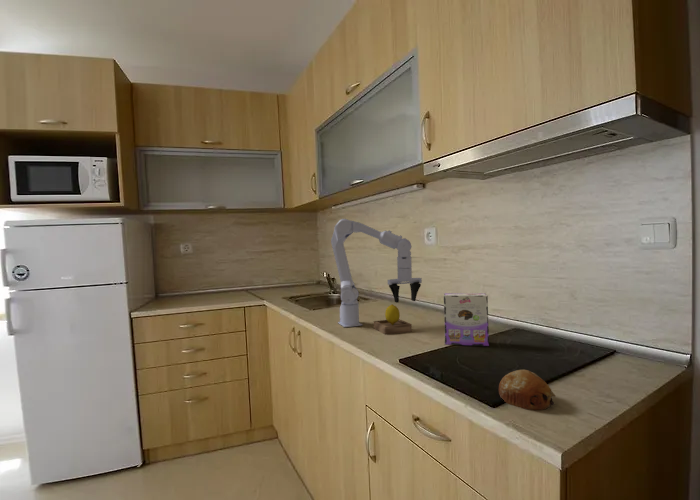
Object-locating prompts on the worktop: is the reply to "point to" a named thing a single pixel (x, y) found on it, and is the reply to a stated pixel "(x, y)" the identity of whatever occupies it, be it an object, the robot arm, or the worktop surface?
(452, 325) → the candy box
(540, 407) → the reddish brown rounded lump
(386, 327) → the base
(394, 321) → the lemon
